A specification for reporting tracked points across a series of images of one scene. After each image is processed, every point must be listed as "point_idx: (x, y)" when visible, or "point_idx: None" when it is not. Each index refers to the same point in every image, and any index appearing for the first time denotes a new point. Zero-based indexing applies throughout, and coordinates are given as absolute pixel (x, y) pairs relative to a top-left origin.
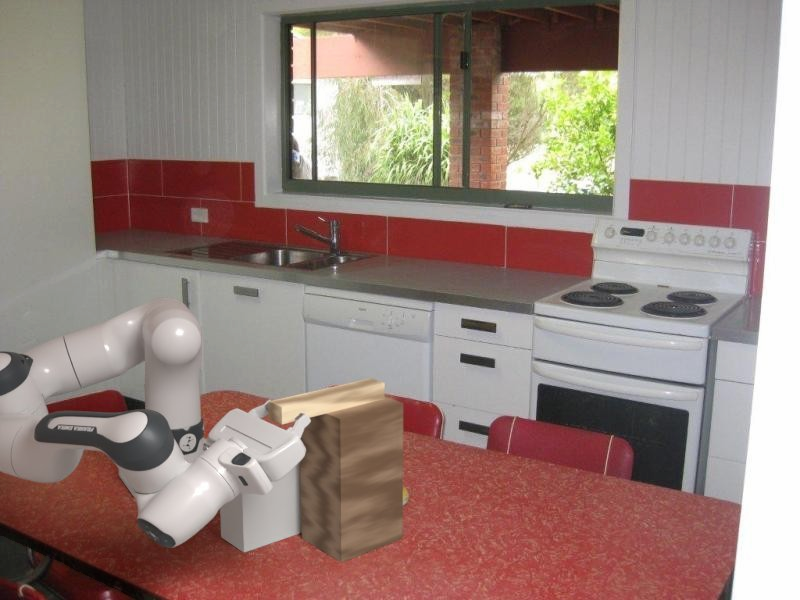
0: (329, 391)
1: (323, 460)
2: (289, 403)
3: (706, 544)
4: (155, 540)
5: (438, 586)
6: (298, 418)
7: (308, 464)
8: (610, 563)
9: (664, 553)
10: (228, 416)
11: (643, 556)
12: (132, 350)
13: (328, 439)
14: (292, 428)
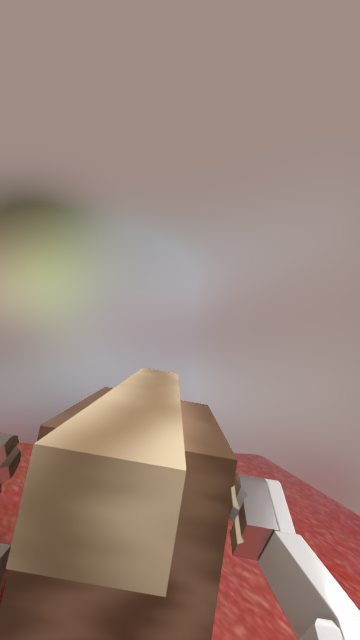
0: (150, 386)
1: (127, 605)
2: (161, 436)
3: (309, 492)
4: None
5: None
6: (272, 517)
7: (39, 632)
8: (328, 544)
9: (317, 512)
10: None
11: (319, 522)
12: None
13: None
14: (350, 632)
